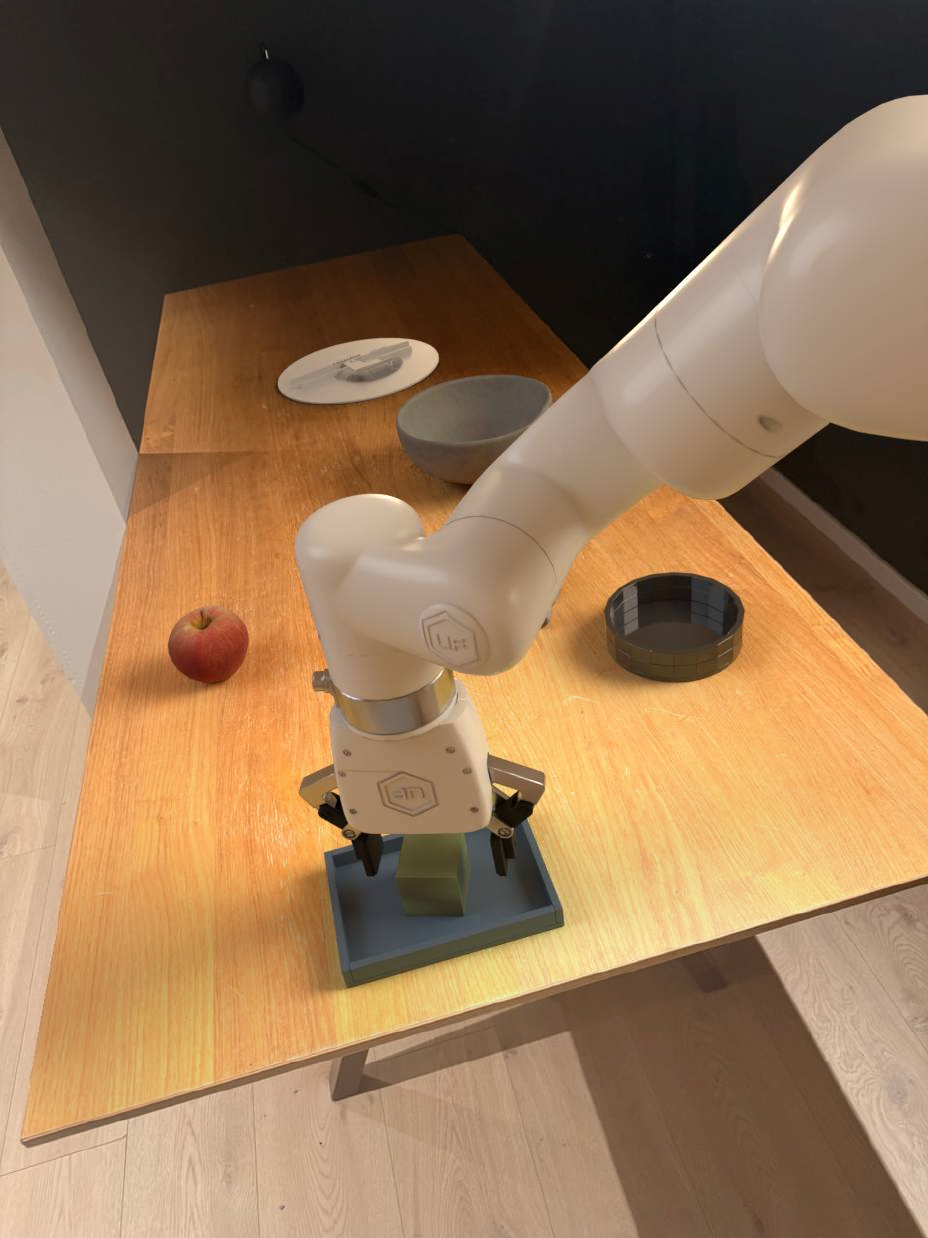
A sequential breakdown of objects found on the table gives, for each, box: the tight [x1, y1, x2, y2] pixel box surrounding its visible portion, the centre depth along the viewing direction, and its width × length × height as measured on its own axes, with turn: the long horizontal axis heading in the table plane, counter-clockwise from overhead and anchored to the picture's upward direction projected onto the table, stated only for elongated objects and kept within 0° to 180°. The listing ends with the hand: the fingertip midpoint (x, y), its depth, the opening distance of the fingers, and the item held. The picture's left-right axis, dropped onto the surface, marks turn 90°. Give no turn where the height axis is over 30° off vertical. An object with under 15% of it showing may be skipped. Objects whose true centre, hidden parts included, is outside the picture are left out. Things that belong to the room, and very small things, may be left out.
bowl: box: [395, 374, 553, 485], centre depth 125 cm, size 20×20×10 cm
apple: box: [167, 604, 250, 684], centre depth 97 cm, size 8×8×8 cm
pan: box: [603, 571, 746, 683], centre depth 93 cm, size 13×13×4 cm
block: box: [395, 833, 471, 916], centre depth 71 cm, size 4×4×4 cm
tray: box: [323, 806, 565, 989], centre depth 72 cm, size 16×11×2 cm
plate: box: [277, 337, 440, 405], centre depth 163 cm, size 28×28×1 cm
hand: (439, 861), depth 70 cm, fingers open, 9 cm apart
